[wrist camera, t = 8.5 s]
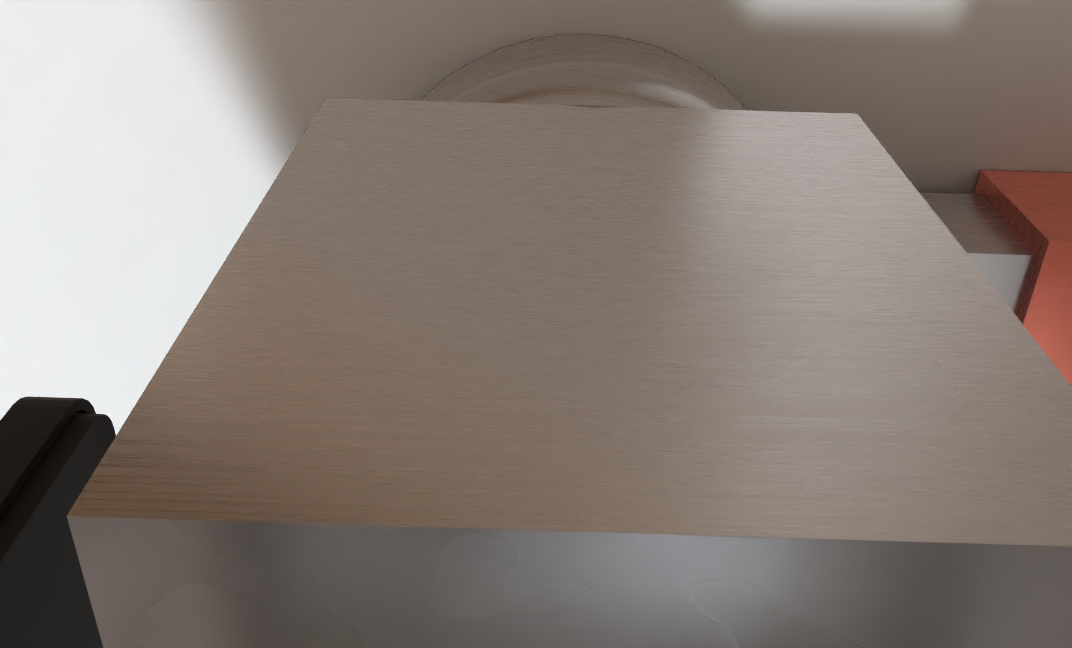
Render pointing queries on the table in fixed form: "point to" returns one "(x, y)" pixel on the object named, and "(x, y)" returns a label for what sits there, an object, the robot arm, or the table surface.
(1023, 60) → the table surface
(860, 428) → the brushed grey cube
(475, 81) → the ratchet
